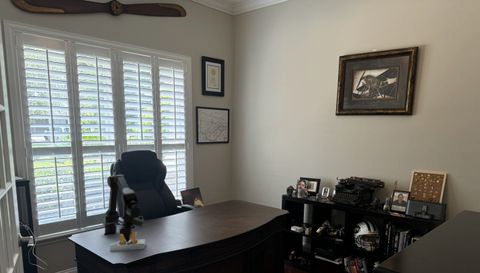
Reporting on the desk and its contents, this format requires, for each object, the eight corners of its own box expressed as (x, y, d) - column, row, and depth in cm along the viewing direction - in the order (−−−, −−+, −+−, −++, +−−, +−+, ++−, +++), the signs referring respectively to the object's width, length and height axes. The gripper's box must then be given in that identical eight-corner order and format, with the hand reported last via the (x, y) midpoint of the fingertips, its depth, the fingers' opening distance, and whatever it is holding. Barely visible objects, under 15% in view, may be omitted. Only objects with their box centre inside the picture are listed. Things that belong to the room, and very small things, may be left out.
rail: (110, 251, 156) (110, 245, 156) (113, 246, 163) (113, 241, 163) (143, 248, 160) (143, 243, 160) (145, 244, 166) (145, 239, 166)
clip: (120, 245, 159) (120, 235, 159) (121, 243, 162) (121, 233, 162) (135, 244, 161) (135, 234, 161) (136, 242, 163) (136, 232, 163)
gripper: (140, 218, 154) (140, 246, 154) (145, 209, 172) (144, 234, 172) (119, 219, 151) (119, 247, 151) (126, 210, 170) (125, 235, 170)
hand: (128, 240), depth 161 cm, fingers closed on clip, 3 cm apart
